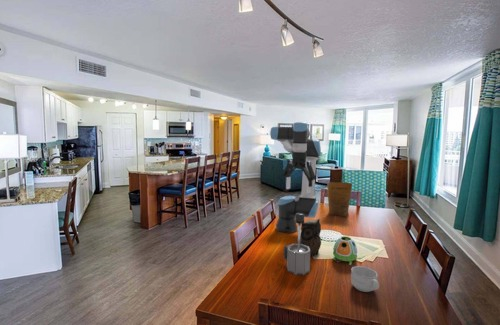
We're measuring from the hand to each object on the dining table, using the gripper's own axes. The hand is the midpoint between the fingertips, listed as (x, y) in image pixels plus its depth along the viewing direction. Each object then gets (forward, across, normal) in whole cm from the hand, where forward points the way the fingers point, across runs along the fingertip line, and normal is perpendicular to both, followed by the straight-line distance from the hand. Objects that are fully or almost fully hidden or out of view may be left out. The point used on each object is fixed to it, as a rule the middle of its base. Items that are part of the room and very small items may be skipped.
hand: (298, 190), depth 148 cm
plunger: (+28, +10, -11) cm, 32 cm away
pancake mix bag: (+36, -23, +87) cm, 97 cm away
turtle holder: (+37, +19, +18) cm, 46 cm away
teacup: (+38, +40, -3) cm, 55 cm away
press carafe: (+37, +8, -11) cm, 40 cm away
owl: (+37, +1, +9) cm, 38 cm away
